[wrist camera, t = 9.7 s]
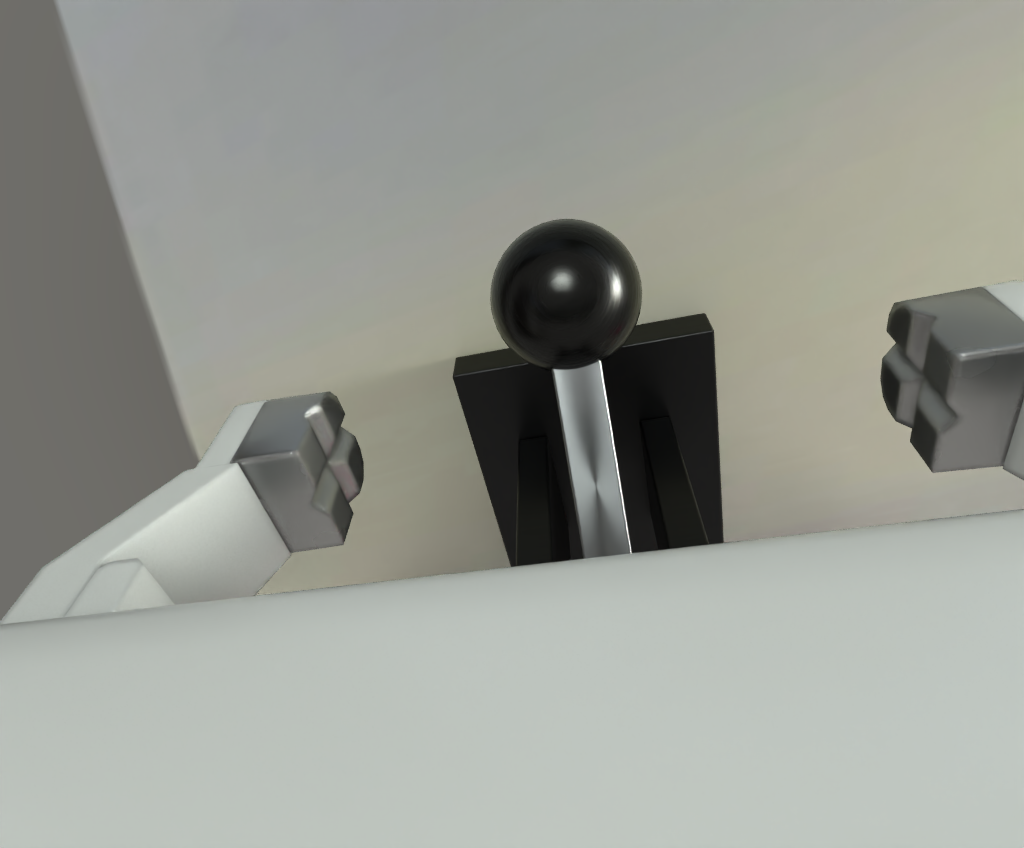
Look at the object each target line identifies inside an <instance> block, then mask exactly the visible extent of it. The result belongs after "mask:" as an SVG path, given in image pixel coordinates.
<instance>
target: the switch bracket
mask: <svg viewBox="0 0 1024 848" xmlns="http://www.w3.org/2000/svg"><path fill="white" fill-rule="evenodd" d="M601 364H602V370H603V377H604V383H605V389H606V395H607V401H608V407H609V413H610V420H611V426H612V432H613V438H614V444H615V450H616V456H617V462H618V469H619V475H620V481H621V487H622V493H623V499H624V505H625V512H626V518H627V524H628V530H629V536H630V542H631V548H632V553H639V552H648V551H657V550H666V549H675V548H683V547H692V546H701V545H710V544H719V543H724V541H723V519H722V497H721V475H720V453H719V432H718V410H717V388H716V366H715V344H714V330H713V328H712V326H711V324H710V322H709V320H708V318H707V316H706V314H705V313H703V314H697V315H692V316H686V317H681V318H675V319H669V320H664V321H658V322H653V323H647V324H642V325H636V326H635V328H634V330H633V332H632V334H631V336H630V337H629V339H628V340H627V342H626V343H625V344H624V345H623V346H622V348H621V349H620V350H619V351H618V352H617V353H616V354H614V355H613V356H612V357H611V358H609V359H608V360H606V361H605V362H603V363H601ZM453 380H454V383H455V386H456V389H457V393H458V396H459V399H460V402H461V405H462V409H463V412H464V415H465V418H466V422H467V425H468V428H469V431H470V435H471V438H472V441H473V444H474V448H475V451H476V454H477V457H478V461H479V464H480V467H481V470H482V474H483V477H484V480H485V483H486V487H487V490H488V493H489V496H490V500H491V503H492V506H493V509H494V512H495V516H496V519H497V522H498V525H499V529H500V532H501V535H502V538H503V542H504V545H505V548H506V551H507V555H508V558H509V561H510V564H511V567H515V566H524V565H533V564H541V563H550V562H559V561H568V560H577V559H584V558H583V552H582V546H581V540H580V534H579V528H578V522H577V516H576V510H575V504H574V498H573V493H572V487H571V481H570V475H569V469H568V463H567V457H566V451H565V445H564V439H563V433H562V427H561V421H560V415H559V410H558V404H557V398H556V392H555V386H554V380H553V374H552V371H547V370H544V369H540V368H538V367H535V366H533V365H531V364H529V363H528V362H526V361H524V360H523V359H521V358H520V357H519V356H518V355H517V354H515V353H514V352H513V351H512V350H511V349H510V348H508V349H502V350H497V351H491V352H486V353H480V354H474V355H469V356H463V357H458V358H456V361H455V367H454V372H453Z"/></svg>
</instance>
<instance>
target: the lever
mask: <svg viewBox="0 0 1024 848" xmlns="http://www.w3.org/2000/svg"><path fill="white" fill-rule="evenodd" d="M490 301H491V310H492V315H493V319H494V322H495V324H496V327H497V330H498V331H499V333H500V335H501V337H502V338H503V340H504V341H505V343H506V344H507V345H508V347H509V348H510V349H511V350H512V351H513V352H514V353H515V354H517V355H518V356H519V357H520V358H521V359H523V360H524V361H526V362H528V363H529V364H531V365H533V366H535V367H538V368H540V369H544V370H547V371H552V374H553V380H554V386H555V392H556V398H557V404H558V410H559V415H560V421H561V427H562V433H563V439H564V445H565V451H566V457H567V463H568V469H569V475H570V481H571V487H572V493H573V498H574V504H575V510H576V516H577V522H578V528H579V534H580V540H581V546H582V552H583V558H584V559H586V558H595V557H604V556H612V555H621V554H630V553H632V548H631V542H630V536H629V530H628V524H627V518H626V512H625V505H624V499H623V493H622V487H621V481H620V475H619V469H618V462H617V456H616V450H615V444H614V438H613V432H612V426H611V420H610V413H609V407H608V401H607V395H606V389H605V383H604V377H603V370H602V364H601V363H603V362H605V361H606V360H608V359H609V358H611V357H612V356H613V355H614V354H616V353H617V352H618V351H619V350H620V349H621V348H622V346H623V345H624V344H625V343H626V342H627V340H628V339H629V337H630V336H631V334H632V332H633V330H634V328H635V326H636V324H637V321H638V318H639V314H640V309H641V303H642V287H641V280H640V276H639V272H638V269H637V266H636V264H635V261H634V260H633V258H632V256H631V254H630V253H629V251H628V250H627V248H626V247H625V246H624V245H623V244H622V243H621V241H620V240H619V239H618V238H616V237H615V236H614V235H613V234H611V233H610V232H609V231H607V230H605V229H604V228H602V227H600V226H597V225H595V224H593V223H590V222H586V221H582V220H575V219H560V220H553V221H549V222H545V223H542V224H540V225H537V226H535V227H533V228H531V229H529V230H528V231H526V232H524V233H523V234H522V235H520V236H519V237H518V238H517V239H516V240H515V241H514V242H513V243H512V244H511V245H510V246H509V247H508V248H507V250H506V251H505V252H504V254H503V256H502V257H501V259H500V261H499V263H498V265H497V267H496V270H495V272H494V276H493V279H492V285H491V297H490Z"/></svg>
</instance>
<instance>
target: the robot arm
mask: <svg viewBox="0 0 1024 848" xmlns="http://www.w3.org/2000/svg"><path fill="white" fill-rule="evenodd" d="M887 332H888V333H889V334H890V336H891V337H892V338H893V339H894V341H895V342H896V344H895V345H894V346H893V347H892V348H891V349H890V350H889V352H888V353H887V354H886V355H885V356H884V357H883V359H882V369H881V378H880V379H881V386H882V393H883V398H884V401H885V403H886V406H887V408H888V410H889V412H890V413H891V415H892V416H893V418H894V419H895V421H897V422H899V423H901V424H903V425H906V426H908V427H910V428H912V433H911V438H910V442H911V443H912V445H913V446H914V448H915V449H916V450H917V452H918V453H919V454H920V456H921V457H922V459H923V460H924V461H925V463H926V464H927V466H928V467H929V468H930V470H931V471H932V472H933V473H935V472H946V471H956V470H966V469H976V468H986V467H996V466H1003V469H1004V470H1006V471H1008V472H1010V473H1012V474H1013V475H1015V476H1017V477H1019V478H1021V479H1023V480H1024V281H1018V280H1013V281H1008V282H1003V283H998V284H993V285H988V286H983V287H977V288H972V289H966V290H961V291H955V292H950V293H944V294H939V295H933V296H928V297H922V298H917V299H911V300H906V301H901V302H897V303H894V305H893V307H892V309H891V311H890V314H889V318H888V324H887ZM344 415H345V413H344V410H343V408H342V406H341V404H340V402H339V400H338V398H337V396H335V395H334V394H332V393H331V392H322V393H315V394H308V395H301V396H293V397H286V398H279V399H272V400H263V401H257V402H252V403H246V404H242V405H239V406H236V407H234V409H233V410H232V412H231V413H230V415H229V416H228V418H227V420H226V421H225V423H224V424H223V426H222V427H221V429H220V431H219V432H218V434H217V435H216V437H215V438H214V440H213V442H212V443H211V445H210V446H209V448H208V449H207V451H206V452H205V454H204V456H203V457H202V459H201V460H200V462H199V463H198V465H197V467H196V468H195V469H190V470H185V471H184V472H182V473H181V474H179V475H178V476H176V477H175V478H174V479H172V480H171V481H169V482H168V483H166V484H165V485H163V486H162V487H160V488H159V489H157V490H156V491H154V492H153V493H151V494H150V495H148V496H147V497H146V498H144V499H142V500H141V501H140V502H138V503H137V504H135V505H134V506H132V507H131V508H129V509H128V510H126V511H125V512H123V513H122V514H120V515H119V516H117V517H116V518H114V519H113V520H112V521H110V522H109V523H107V524H106V525H104V526H103V527H101V528H100V529H98V530H97V531H95V532H94V533H92V534H91V535H90V536H88V537H86V538H85V539H83V540H82V541H80V542H79V543H78V544H76V545H75V546H73V547H72V548H70V549H69V550H67V551H66V552H64V553H63V554H61V555H60V556H58V557H57V558H55V559H54V560H52V561H51V562H50V563H48V564H47V565H45V566H44V567H42V568H41V569H40V571H39V572H38V573H37V574H36V576H35V577H34V578H33V580H32V581H31V582H30V584H29V585H28V586H27V587H26V589H25V590H24V591H23V593H22V594H21V595H20V596H19V598H18V599H17V601H16V602H15V603H14V604H13V606H12V607H11V608H10V610H9V611H8V612H7V613H6V615H5V616H4V617H3V619H2V620H1V621H0V848H1024V509H1020V510H1011V511H1002V512H993V513H984V514H975V515H967V516H958V517H949V518H940V519H931V520H922V521H914V522H905V523H896V524H887V525H878V526H869V527H860V528H852V529H843V530H834V531H825V532H816V533H807V534H799V535H790V536H781V537H772V538H763V539H754V540H746V541H737V542H728V543H719V544H710V545H701V546H692V547H683V548H675V549H666V550H657V551H648V552H639V553H630V554H621V555H612V556H604V557H595V558H586V559H577V560H568V561H559V562H550V563H541V564H533V565H524V566H515V567H506V568H497V569H488V570H479V571H470V572H462V573H453V574H444V575H435V576H426V577H417V578H408V579H399V580H391V581H382V582H373V583H364V584H355V585H346V586H337V587H328V588H320V589H311V590H302V591H293V592H284V593H275V594H266V595H257V596H255V595H256V594H257V593H258V591H259V590H260V589H261V588H262V587H263V586H264V585H265V584H266V583H267V582H268V581H269V579H270V578H271V577H272V576H273V575H274V574H275V573H276V572H277V571H278V570H279V568H280V567H281V566H282V565H283V564H284V563H285V562H286V561H287V560H288V559H289V558H290V556H291V553H293V552H299V551H306V550H313V549H319V548H326V547H333V546H339V545H343V544H344V541H345V538H346V535H347V532H348V529H349V526H350V522H351V519H352V516H353V511H352V509H351V507H350V505H349V502H351V501H352V500H353V499H354V498H355V497H356V496H357V495H358V494H359V493H360V491H361V487H362V483H363V480H364V469H363V458H362V454H361V450H360V447H359V445H358V442H357V440H356V438H355V436H354V435H352V434H351V433H350V432H348V431H347V430H345V429H344V428H342V427H341V424H342V421H343V418H344Z"/></svg>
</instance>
